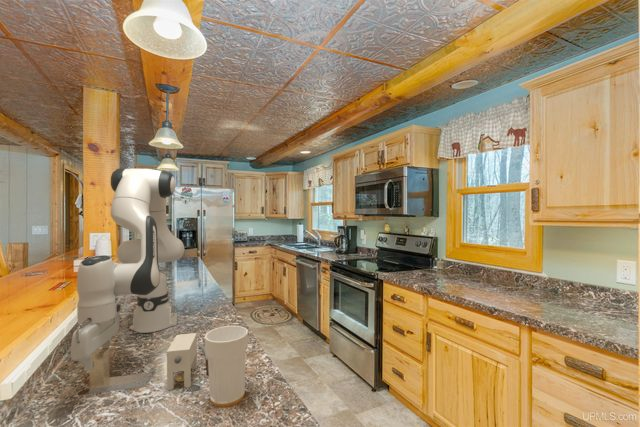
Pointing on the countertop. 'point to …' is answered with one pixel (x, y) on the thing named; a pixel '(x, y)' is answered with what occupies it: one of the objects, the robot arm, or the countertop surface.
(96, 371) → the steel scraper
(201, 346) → the kitchen cleaver
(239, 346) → the cup
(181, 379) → the brass token
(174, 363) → the notched cream block
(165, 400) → the countertop surface
